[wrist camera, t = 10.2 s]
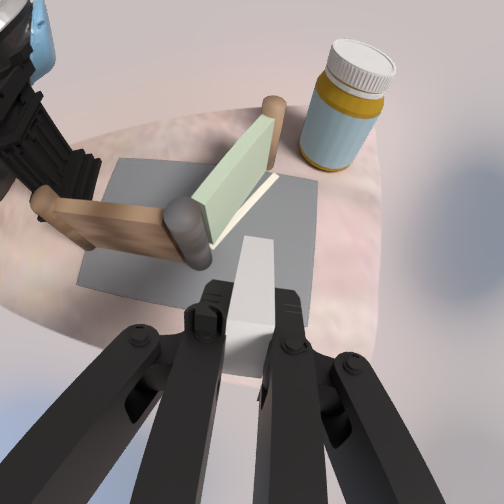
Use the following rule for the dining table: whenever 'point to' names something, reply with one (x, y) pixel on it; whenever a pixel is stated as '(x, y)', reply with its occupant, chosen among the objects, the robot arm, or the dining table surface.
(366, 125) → the bottle
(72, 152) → the chess piece
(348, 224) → the dining table surface
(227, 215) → the fence panel
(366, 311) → the dining table surface
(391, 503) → the robot arm
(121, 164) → the board
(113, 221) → the walnut fence section
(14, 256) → the dining table surface
